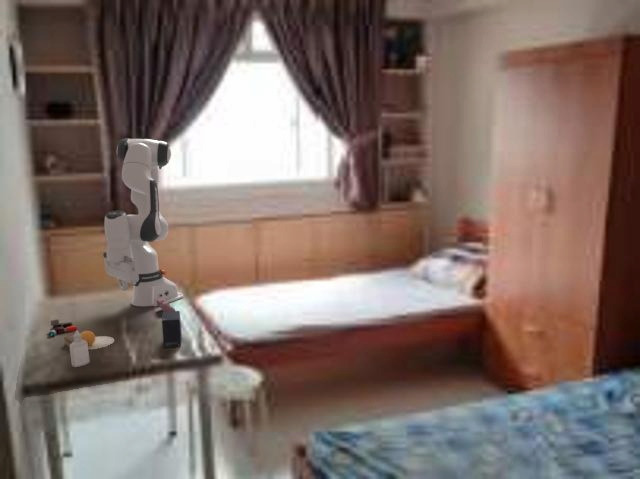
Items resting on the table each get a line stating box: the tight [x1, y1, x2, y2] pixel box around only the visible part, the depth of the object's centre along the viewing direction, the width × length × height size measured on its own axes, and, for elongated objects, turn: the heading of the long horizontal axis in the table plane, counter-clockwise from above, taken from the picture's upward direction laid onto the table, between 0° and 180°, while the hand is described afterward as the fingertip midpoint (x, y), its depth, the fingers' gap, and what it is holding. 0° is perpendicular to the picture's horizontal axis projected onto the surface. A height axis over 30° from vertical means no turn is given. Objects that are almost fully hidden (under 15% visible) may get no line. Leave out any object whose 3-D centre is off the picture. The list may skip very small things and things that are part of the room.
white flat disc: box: [88, 335, 115, 351], centre depth 231 cm, size 13×13×1 cm
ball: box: [80, 330, 96, 346], centre depth 228 cm, size 6×6×6 cm
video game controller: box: [156, 299, 176, 313], centre depth 264 cm, size 10×5×7 cm, turn 28°
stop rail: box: [63, 334, 74, 348], centre depth 226 cm, size 2×14×3 cm, turn 42°
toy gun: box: [47, 319, 78, 338], centre depth 244 cm, size 10×12×5 cm
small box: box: [161, 310, 182, 349], centre depth 228 cm, size 11×6×10 cm, turn 12°
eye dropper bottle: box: [69, 329, 90, 368], centre depth 210 cm, size 4×6×12 cm
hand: (124, 289), depth 239 cm, fingers closed
